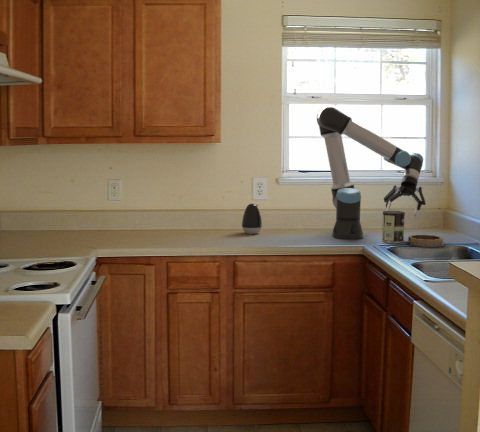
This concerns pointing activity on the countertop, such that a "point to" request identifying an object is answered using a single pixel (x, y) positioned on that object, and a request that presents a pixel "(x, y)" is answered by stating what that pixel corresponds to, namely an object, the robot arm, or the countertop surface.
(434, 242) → the collar
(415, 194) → the robot arm
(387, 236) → the coffee can
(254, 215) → the black egg-shaped speaker
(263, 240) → the countertop surface
